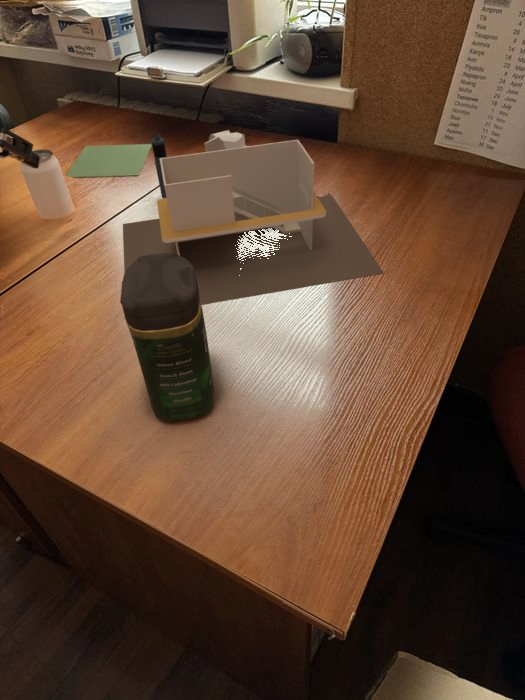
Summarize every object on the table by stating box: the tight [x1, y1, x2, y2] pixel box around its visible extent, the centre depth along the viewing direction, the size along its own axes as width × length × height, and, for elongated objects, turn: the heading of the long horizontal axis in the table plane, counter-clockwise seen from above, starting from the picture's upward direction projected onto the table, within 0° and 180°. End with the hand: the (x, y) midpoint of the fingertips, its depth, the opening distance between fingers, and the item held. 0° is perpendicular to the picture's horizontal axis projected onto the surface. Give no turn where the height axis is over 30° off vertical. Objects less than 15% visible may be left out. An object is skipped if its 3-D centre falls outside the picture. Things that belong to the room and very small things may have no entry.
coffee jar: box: [119, 253, 215, 423], centre depth 56 cm, size 10×8×19 cm
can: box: [20, 148, 75, 224], centre depth 91 cm, size 6×6×12 cm
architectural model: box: [156, 139, 327, 253], centre depth 80 cm, size 26×13×15 cm, turn 102°
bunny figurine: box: [203, 129, 248, 152], centre depth 109 cm, size 10×5×15 cm
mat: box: [65, 143, 153, 179], centre depth 113 cm, size 16×16×1 cm
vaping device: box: [150, 133, 173, 198], centre depth 95 cm, size 3×5×12 cm, turn 55°
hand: (15, 160), depth 83 cm, fingers open, 8 cm apart
